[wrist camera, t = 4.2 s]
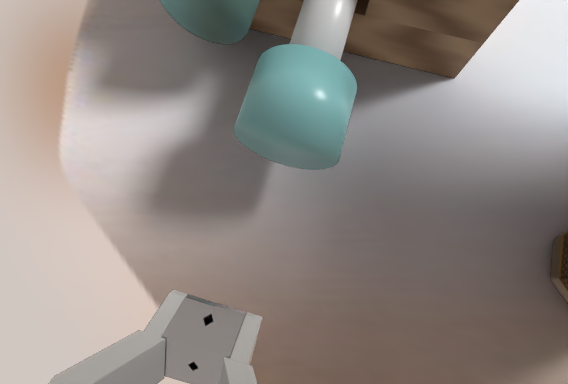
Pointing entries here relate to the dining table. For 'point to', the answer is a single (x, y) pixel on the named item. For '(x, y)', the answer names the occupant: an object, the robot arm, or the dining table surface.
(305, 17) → the knob
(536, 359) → the dining table surface
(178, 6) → the block
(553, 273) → the ceramic cup
